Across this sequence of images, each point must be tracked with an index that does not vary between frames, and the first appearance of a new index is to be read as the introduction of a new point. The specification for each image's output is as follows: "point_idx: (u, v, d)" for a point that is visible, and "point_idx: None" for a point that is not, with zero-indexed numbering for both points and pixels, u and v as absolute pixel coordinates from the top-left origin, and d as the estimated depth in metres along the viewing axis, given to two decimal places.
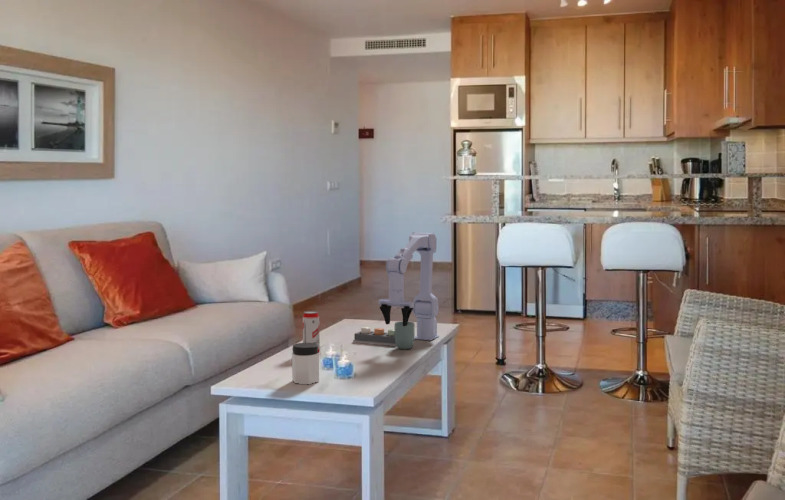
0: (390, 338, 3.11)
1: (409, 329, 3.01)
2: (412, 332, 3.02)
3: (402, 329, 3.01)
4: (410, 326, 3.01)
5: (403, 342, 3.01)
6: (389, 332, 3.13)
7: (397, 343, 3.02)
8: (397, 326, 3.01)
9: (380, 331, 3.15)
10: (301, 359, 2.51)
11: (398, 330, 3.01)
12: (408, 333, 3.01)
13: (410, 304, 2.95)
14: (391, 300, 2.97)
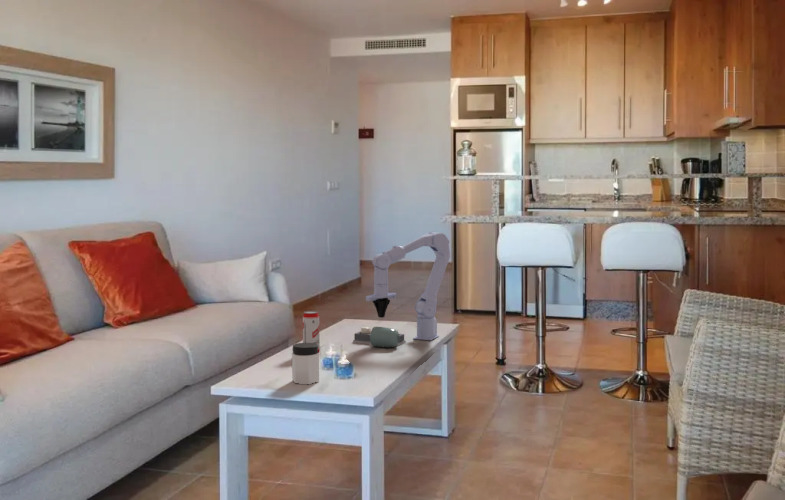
0: None
1: (375, 330, 3.06)
2: (380, 328, 3.06)
3: (374, 338, 3.05)
4: (373, 329, 3.06)
5: (386, 338, 3.03)
6: None
7: (387, 343, 3.03)
8: (372, 342, 3.06)
9: None
10: (301, 359, 2.51)
11: (375, 342, 3.05)
12: (379, 332, 3.05)
13: None
14: None
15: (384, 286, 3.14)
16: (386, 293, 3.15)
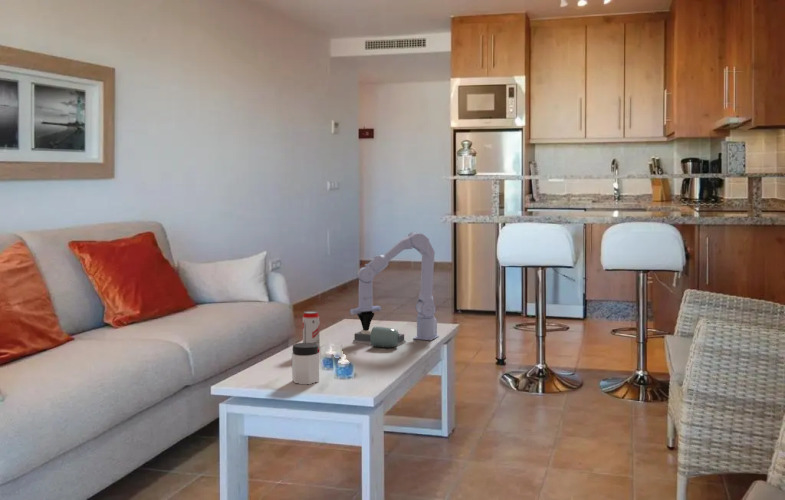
0: None
1: (375, 330, 3.06)
2: (380, 328, 3.06)
3: (374, 338, 3.05)
4: (373, 329, 3.06)
5: (386, 338, 3.03)
6: None
7: (387, 343, 3.03)
8: (372, 342, 3.06)
9: None
10: (301, 359, 2.51)
11: (375, 342, 3.05)
12: (379, 332, 3.05)
13: None
14: None
15: (368, 299, 3.15)
16: (370, 306, 3.16)
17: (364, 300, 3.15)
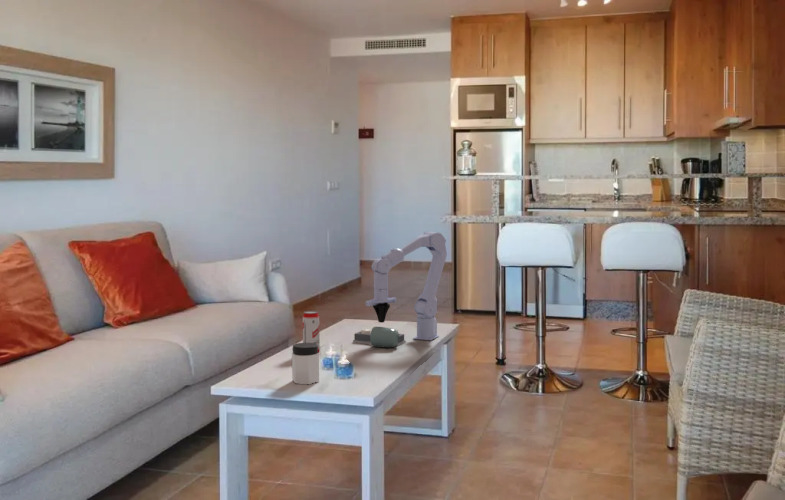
0: None
1: (375, 330, 3.06)
2: (380, 328, 3.06)
3: (374, 338, 3.05)
4: (373, 329, 3.06)
5: (386, 338, 3.03)
6: None
7: (387, 343, 3.03)
8: (372, 342, 3.06)
9: None
10: (301, 359, 2.51)
11: (375, 342, 3.05)
12: (379, 332, 3.05)
13: None
14: None
15: (384, 291, 3.12)
16: (386, 298, 3.13)
17: (379, 291, 3.12)
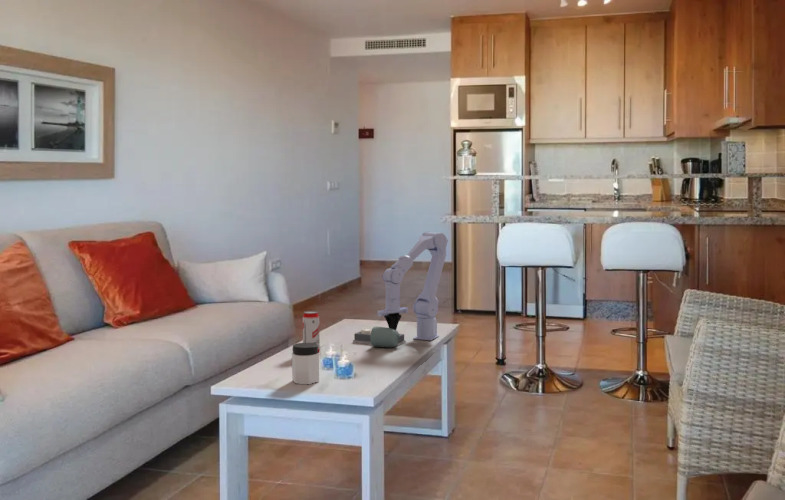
0: None
1: (375, 330, 3.06)
2: (380, 328, 3.06)
3: (374, 338, 3.05)
4: (373, 329, 3.06)
5: (386, 338, 3.03)
6: None
7: (387, 343, 3.03)
8: (372, 342, 3.06)
9: None
10: (301, 359, 2.51)
11: (375, 342, 3.05)
12: (379, 332, 3.05)
13: None
14: None
15: (396, 301, 3.10)
16: (398, 308, 3.11)
17: (391, 302, 3.10)
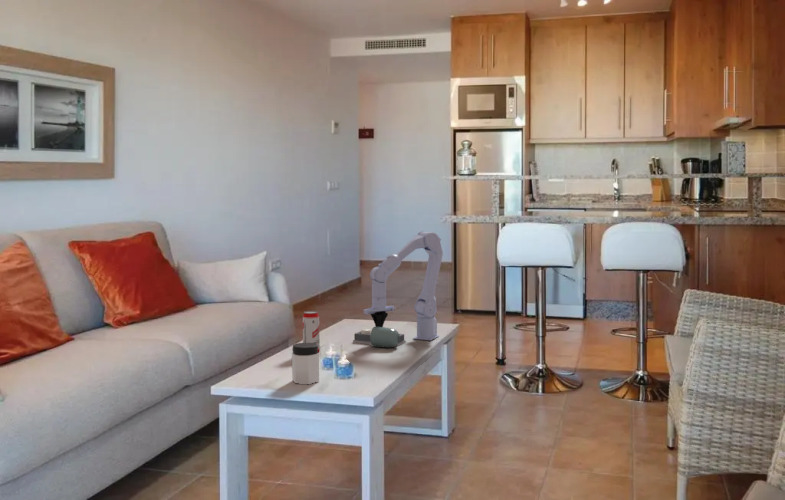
0: None
1: (375, 330, 3.06)
2: (380, 328, 3.06)
3: (374, 338, 3.05)
4: (373, 329, 3.06)
5: (386, 338, 3.03)
6: None
7: (387, 343, 3.03)
8: (372, 342, 3.06)
9: None
10: (301, 359, 2.51)
11: (375, 342, 3.05)
12: (379, 332, 3.05)
13: None
14: None
15: (382, 299, 3.13)
16: (384, 306, 3.14)
17: (377, 300, 3.13)
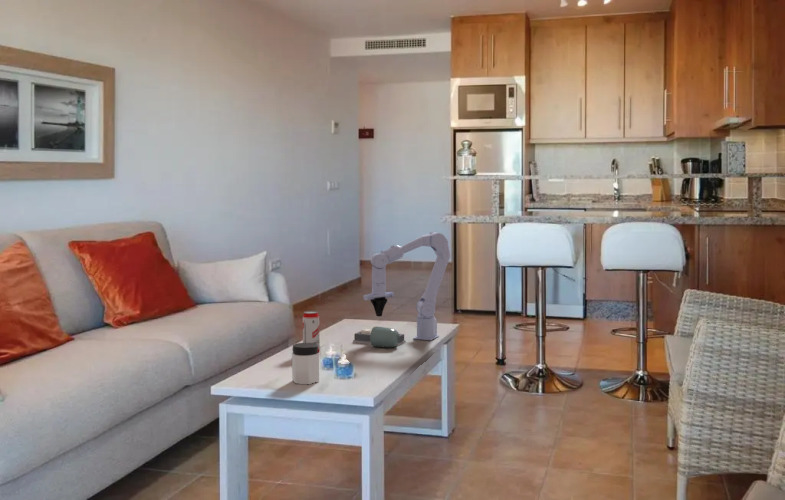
0: None
1: (375, 330, 3.06)
2: (380, 328, 3.06)
3: (374, 338, 3.05)
4: (373, 329, 3.06)
5: (386, 338, 3.03)
6: None
7: (387, 343, 3.03)
8: (372, 342, 3.06)
9: None
10: (301, 359, 2.51)
11: (375, 342, 3.05)
12: (379, 332, 3.05)
13: None
14: None
15: (382, 285, 3.17)
16: (384, 292, 3.18)
17: (377, 286, 3.17)
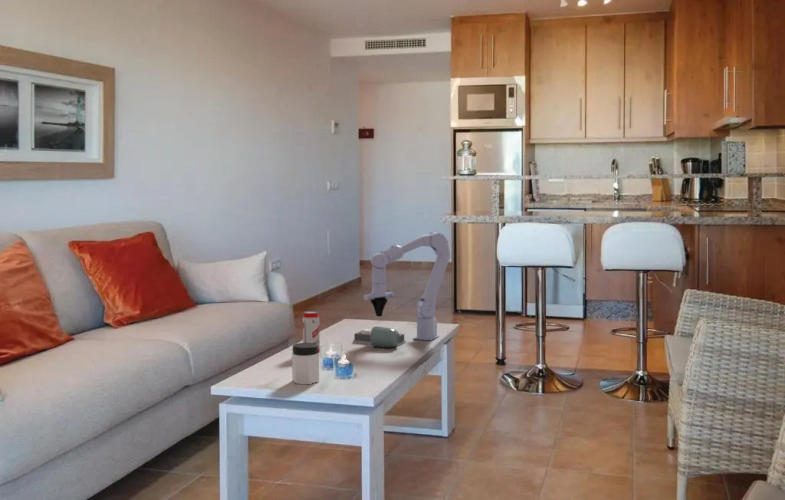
0: None
1: (375, 330, 3.06)
2: (380, 328, 3.06)
3: (374, 338, 3.05)
4: (373, 329, 3.06)
5: (386, 338, 3.03)
6: None
7: (387, 343, 3.03)
8: (372, 342, 3.06)
9: None
10: (301, 359, 2.51)
11: (375, 342, 3.05)
12: (379, 332, 3.05)
13: None
14: None
15: (382, 285, 3.17)
16: (384, 292, 3.18)
17: (377, 286, 3.17)
